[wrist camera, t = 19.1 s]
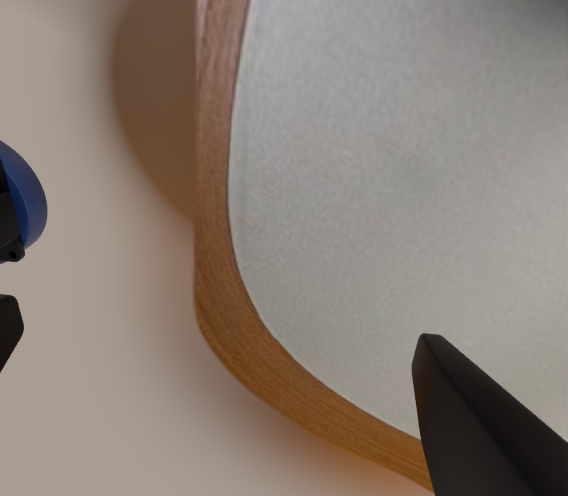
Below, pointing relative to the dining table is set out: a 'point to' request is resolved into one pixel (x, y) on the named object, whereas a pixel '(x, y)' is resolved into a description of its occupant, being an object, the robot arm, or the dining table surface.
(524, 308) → the dining table surface
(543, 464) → the robot arm
